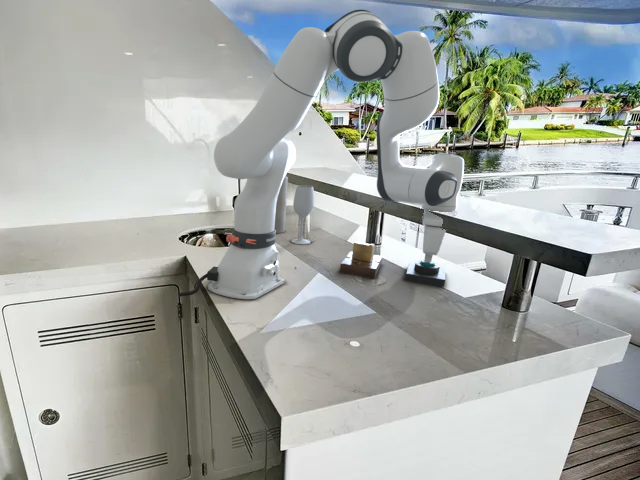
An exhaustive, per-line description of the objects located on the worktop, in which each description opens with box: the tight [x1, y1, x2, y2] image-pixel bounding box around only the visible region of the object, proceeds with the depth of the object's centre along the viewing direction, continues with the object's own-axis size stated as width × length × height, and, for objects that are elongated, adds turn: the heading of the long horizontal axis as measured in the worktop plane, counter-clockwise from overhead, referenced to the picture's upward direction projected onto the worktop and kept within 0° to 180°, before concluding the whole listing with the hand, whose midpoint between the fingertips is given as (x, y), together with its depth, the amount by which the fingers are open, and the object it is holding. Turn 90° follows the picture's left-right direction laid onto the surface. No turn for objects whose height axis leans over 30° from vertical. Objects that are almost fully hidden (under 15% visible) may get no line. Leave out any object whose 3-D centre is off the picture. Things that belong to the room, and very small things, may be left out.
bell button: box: [420, 259, 436, 267], centre depth 110 cm, size 4×4×2 cm
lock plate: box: [339, 251, 383, 279], centre depth 117 cm, size 14×10×3 cm
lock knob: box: [352, 240, 376, 262], centre depth 116 cm, size 6×2×5 cm, turn 49°
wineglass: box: [291, 184, 315, 245], centre depth 142 cm, size 8×8×21 cm
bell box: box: [404, 260, 446, 288], centre depth 111 cm, size 12×10×4 cm
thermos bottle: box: [274, 174, 289, 234], centre depth 156 cm, size 8×8×28 cm
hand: (427, 261), depth 110 cm, fingers closed, pressing on bell button
